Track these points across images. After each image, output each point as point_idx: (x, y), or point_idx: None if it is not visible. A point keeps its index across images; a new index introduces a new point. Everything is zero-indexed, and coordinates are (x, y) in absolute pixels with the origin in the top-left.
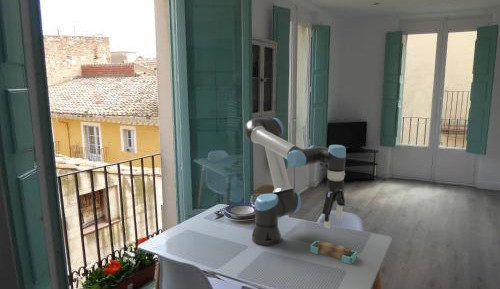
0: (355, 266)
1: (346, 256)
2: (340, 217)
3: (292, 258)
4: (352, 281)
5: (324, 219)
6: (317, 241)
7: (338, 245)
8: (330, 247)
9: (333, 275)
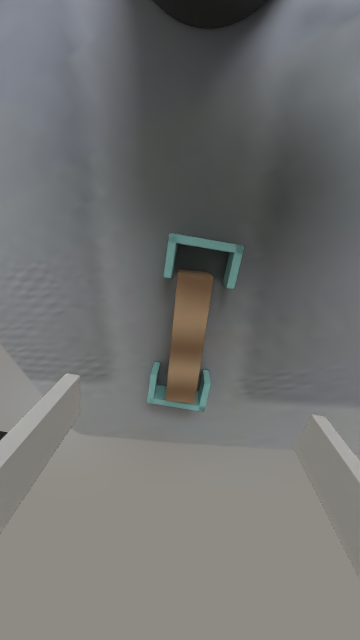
0: None
1: (151, 387)
2: (304, 457)
3: (83, 186)
4: None
5: (13, 429)
6: (234, 254)
7: (198, 360)
8: (172, 332)
9: (62, 356)
